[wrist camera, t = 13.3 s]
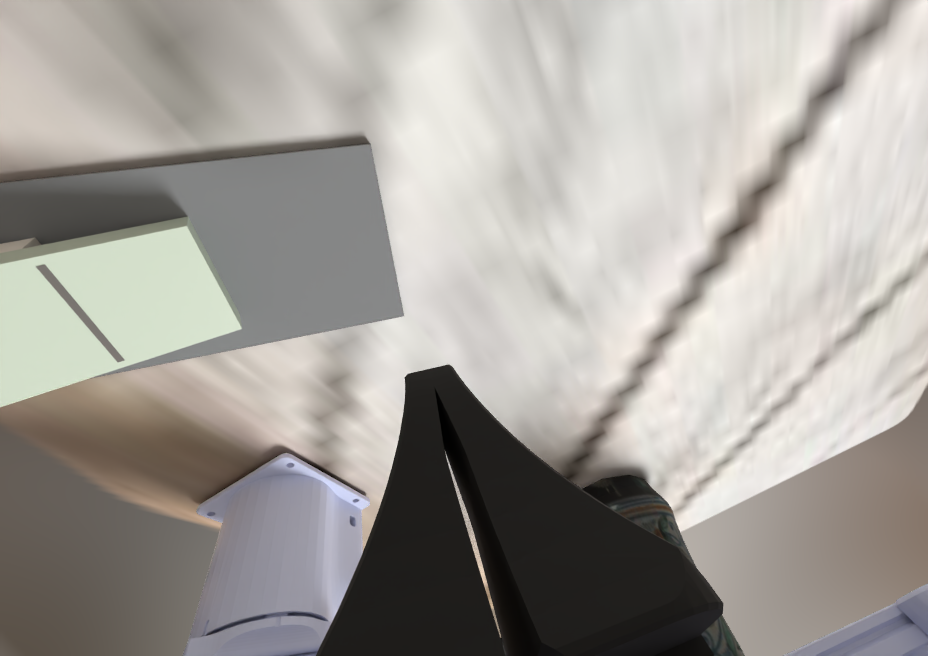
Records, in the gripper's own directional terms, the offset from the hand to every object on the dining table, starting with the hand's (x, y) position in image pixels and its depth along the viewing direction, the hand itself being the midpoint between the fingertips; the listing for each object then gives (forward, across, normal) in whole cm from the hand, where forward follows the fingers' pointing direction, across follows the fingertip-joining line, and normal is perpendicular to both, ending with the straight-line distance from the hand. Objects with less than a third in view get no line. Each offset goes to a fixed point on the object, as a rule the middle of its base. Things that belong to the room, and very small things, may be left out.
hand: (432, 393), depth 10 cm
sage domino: (+9, +8, -1) cm, 12 cm away
